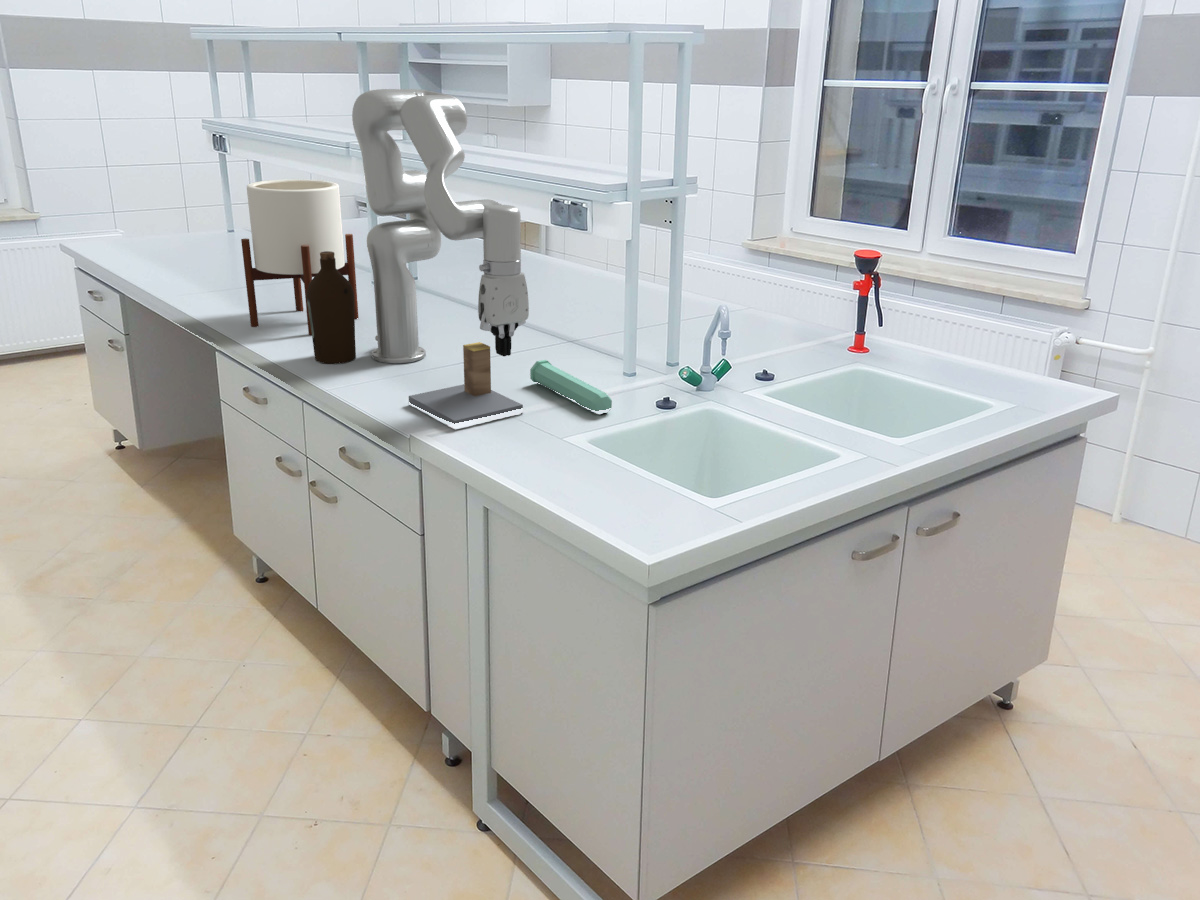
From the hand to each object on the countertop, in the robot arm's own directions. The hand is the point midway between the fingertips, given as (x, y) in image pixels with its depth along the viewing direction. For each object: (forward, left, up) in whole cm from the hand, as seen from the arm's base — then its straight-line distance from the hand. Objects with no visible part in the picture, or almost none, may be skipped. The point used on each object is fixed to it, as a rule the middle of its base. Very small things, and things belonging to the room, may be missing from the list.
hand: (503, 354), depth 205 cm
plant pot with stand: (-80, -9, -9) cm, 81 cm away
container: (+10, +10, -10) cm, 17 cm away
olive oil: (-45, -17, -9) cm, 49 cm away
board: (+3, -11, -9) cm, 15 cm away
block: (0, -6, -7) cm, 10 cm away
